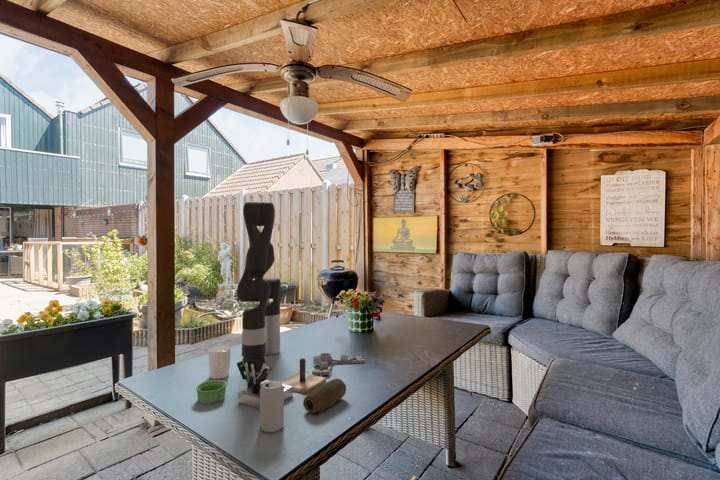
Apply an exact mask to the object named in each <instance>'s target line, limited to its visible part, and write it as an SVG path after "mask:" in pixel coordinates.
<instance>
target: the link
mask: <svg viewBox="0 0 720 480" xmlns="http://www.w3.org/2000/svg"><path fill="white" fill-rule="evenodd" d="M267 381H270V379H269V380H268V379H266V380H265V381H263V382H261V383H260V389H261V385H262V384H263V383H265V382H267ZM282 386H283V387H284V401H286V400H288V399H289V398H291V397H293V395H294V391H293V386H289V385H285V384H283V385H282ZM237 401H238V404H239V403H240V404H243V405H246V406H249V407H254V408H256V409H260V392H259V394H257V395H255V394H253V386H251V387H249V388H245V389H243V390H240V391H239V392H238V393H237Z"/></svg>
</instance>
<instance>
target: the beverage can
mask: <svg viewBox="0 0 720 480" xmlns="http://www.w3.org/2000/svg"><path fill="white" fill-rule="evenodd" d="M282 385H283V384H282V381H280V380H269V381H267V382H265V383H263V384H262V385H261V389H260V394H259V396H260V408H259V429H260V431H263V432H264V433H267V434H268V433H269V434H270V433H277V432H278V431H280V430H281V429H282V428H283V426H284V425H285V424H284V423H285V422H284V420H285V419H284V417H285V409H284V407H285V400H284V387H283V386H282Z"/></svg>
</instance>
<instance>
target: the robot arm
mask: <svg viewBox="0 0 720 480" xmlns="http://www.w3.org/2000/svg"><path fill="white" fill-rule="evenodd" d="M242 211H243V212H242V216H243V219H244V225H245V229H246V232H247V236H248V241H249V247H248V249H247V252H246V256H245V265H244V266H245V267H244V270H243V274H242V276H241V278H240V280H239V282H238V285H237V287H236V297H237V299H238V300H239V301H240V302H244V303H249V302H250V303H251V302H252V303H253V302H256V303H257V302H258V305H256V306H255V307H251V308H247V309H245V310H243V312H242V331H241V357H243V358H242V360H239V361H238V362H237V363H236V366H237V369H238V371H239V373H240V376H241V378H242V380H243V381H244V380H245V381H246V383H247V385H246V386H247V388H249V387H251V386H253V394H255V395H257V394H258V395H260V394H259V392H260V383H261V382H263V381H265V380H267V377H268V376H269V374H270V373H271V370H272V366H268V365H267V364H266V360H265V356H270V355H272V356H273V355H276V354H279V353H280V352H281V292H282V291H281V287H282V286H281V285H282V283H281V280H280V279H279V277H264V276H265V275H266V273H268V271H269V270H270V269H271V267H272V266H273V265H274V263H275V258H276V257H275V249H274V245H273V244H272V242H271V239H272V234H273V229H274V224H275V220H276V219H275V218H276V216H275V215H276V213H275V212H276V210H275V205H274V203H273V202H272V201H262V200H261V201H259V200H258V201H257V200H256V201H253V200H252V201H246V202H245V203H244V205H243V208H242ZM258 227H263V228H262V230H261V231H260V230H259V228H258ZM270 299H272V301H271V302H270V303H268V301H269V300H270ZM247 388H246V389H247Z"/></svg>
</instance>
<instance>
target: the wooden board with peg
mask: <svg viewBox="0 0 720 480" xmlns="http://www.w3.org/2000/svg"><path fill="white" fill-rule="evenodd" d="M306 362H307V361H306V358H303V357H302V358H300V359H299V371H298V372H296V373H295V374H292V375H290V376H289V377H287V378H285V379H284V380H282V381H281V382H282V384H285V385H289V386H293V392H298V393H302V394H304V395H305V394H306V395H308V394H310V393H311V392H312V391H314V390H315V389H317V388H319V387H320V386H322V385H323V384H325V383H326V382H327V378H326V377H325V376H321V375H318V376H315V375H313V374H310V373H306Z"/></svg>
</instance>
